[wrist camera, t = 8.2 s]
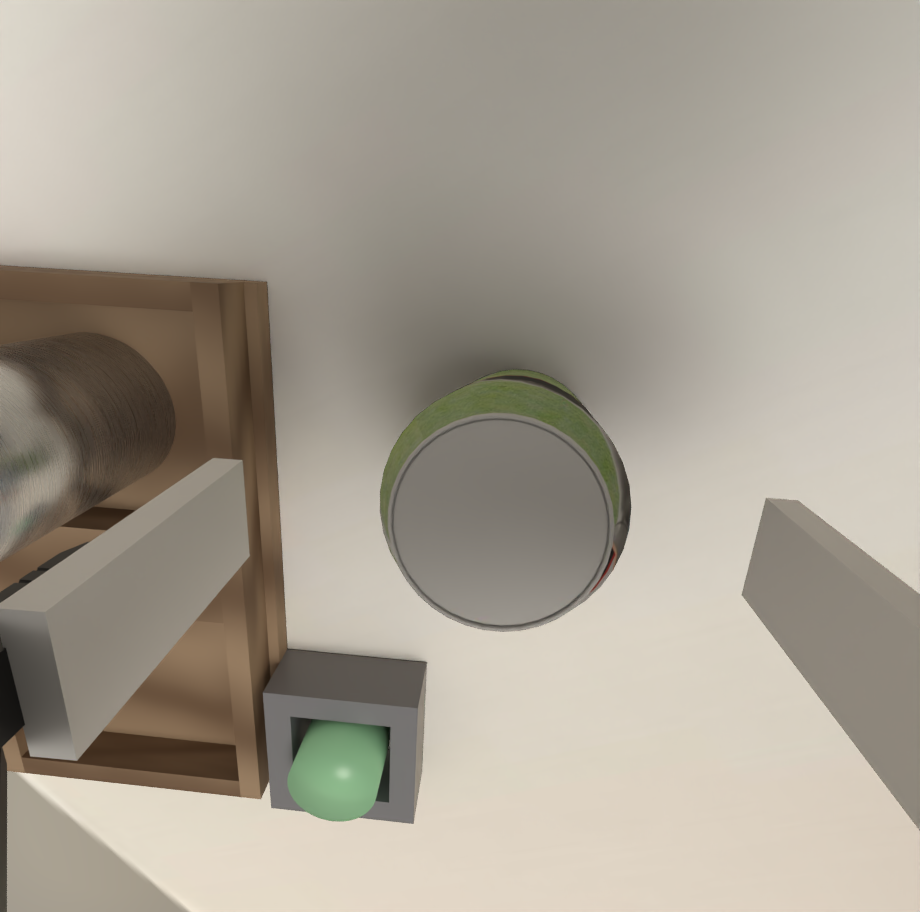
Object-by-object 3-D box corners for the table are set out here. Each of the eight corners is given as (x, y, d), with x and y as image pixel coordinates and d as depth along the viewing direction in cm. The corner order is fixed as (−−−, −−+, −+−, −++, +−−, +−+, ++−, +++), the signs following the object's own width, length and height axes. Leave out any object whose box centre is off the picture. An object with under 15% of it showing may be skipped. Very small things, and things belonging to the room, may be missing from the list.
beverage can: (492, 526, 25) (482, 745, 14) (397, 388, 23) (295, 507, 12) (620, 455, 23) (728, 636, 12) (528, 303, 22) (555, 345, 10)
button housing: (287, 649, 28) (262, 692, 25) (426, 662, 28) (418, 708, 25) (293, 756, 30) (271, 807, 27) (421, 770, 30) (413, 823, 27)
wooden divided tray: (-69, 261, 23) (-150, 260, 20) (266, 282, 22) (231, 284, 19) (43, 723, 31) (-4, 769, 28) (292, 749, 30) (270, 800, 27)
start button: (318, 675, 28) (285, 748, 24) (396, 683, 28) (376, 757, 24) (320, 737, 30) (289, 815, 25) (394, 744, 29) (376, 825, 25)
